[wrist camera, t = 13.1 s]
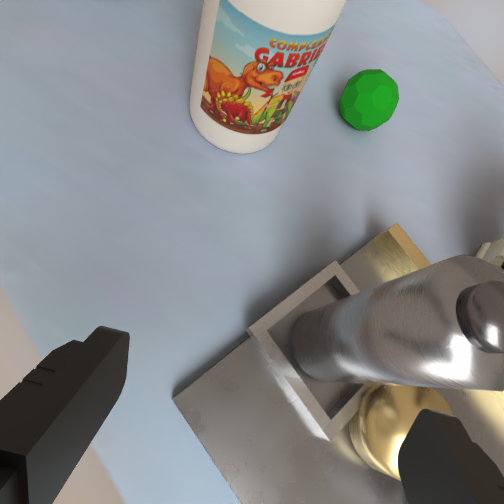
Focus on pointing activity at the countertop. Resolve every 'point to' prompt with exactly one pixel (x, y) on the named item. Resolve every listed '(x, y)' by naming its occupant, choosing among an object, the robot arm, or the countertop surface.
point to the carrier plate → (322, 403)
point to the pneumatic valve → (493, 253)
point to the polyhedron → (369, 99)
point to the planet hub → (412, 330)
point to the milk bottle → (255, 66)
